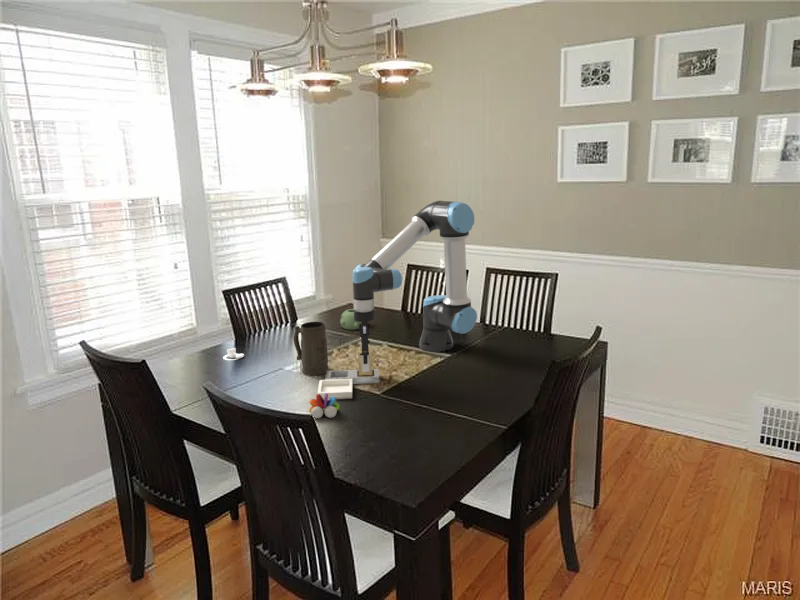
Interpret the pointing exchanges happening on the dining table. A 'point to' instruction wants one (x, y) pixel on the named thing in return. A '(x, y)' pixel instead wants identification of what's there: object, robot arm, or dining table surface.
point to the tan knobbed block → (361, 363)
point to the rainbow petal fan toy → (323, 406)
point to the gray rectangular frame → (353, 376)
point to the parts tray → (336, 388)
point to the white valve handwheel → (233, 354)
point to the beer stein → (312, 347)
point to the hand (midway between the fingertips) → (365, 365)
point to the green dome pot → (349, 320)
